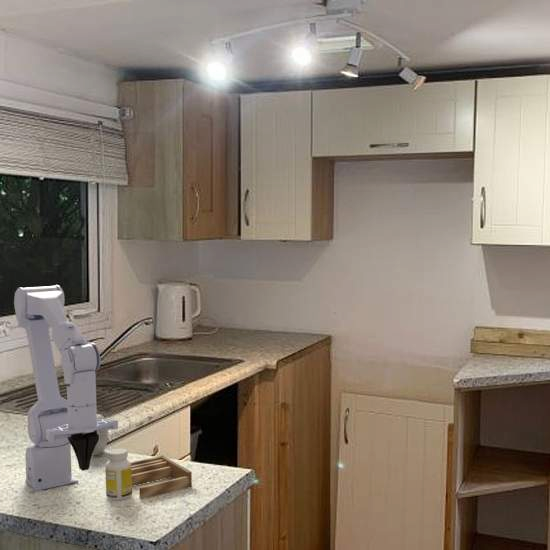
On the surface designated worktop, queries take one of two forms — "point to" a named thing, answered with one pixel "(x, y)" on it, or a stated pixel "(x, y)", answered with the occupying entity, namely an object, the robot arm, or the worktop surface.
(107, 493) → the supplement bottle
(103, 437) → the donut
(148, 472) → the wooden slatted frame
